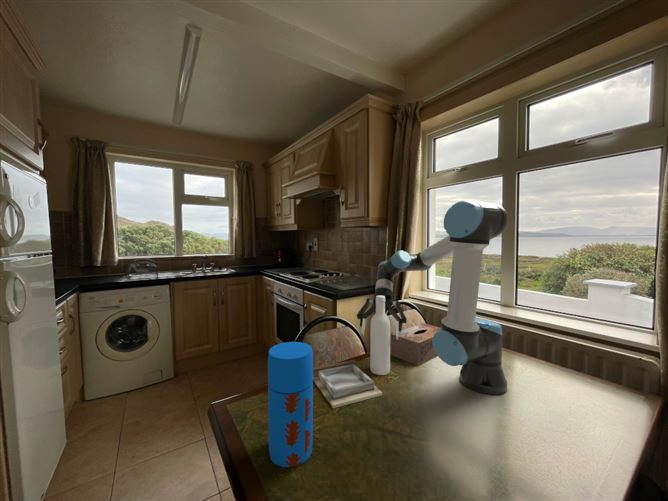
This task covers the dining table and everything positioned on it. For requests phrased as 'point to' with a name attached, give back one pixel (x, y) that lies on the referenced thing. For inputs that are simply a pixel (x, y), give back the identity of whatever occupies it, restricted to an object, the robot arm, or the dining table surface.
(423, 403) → the dining table surface
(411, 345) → the tissue box cover
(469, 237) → the robot arm
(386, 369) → the bottle
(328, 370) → the tray
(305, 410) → the thermos
